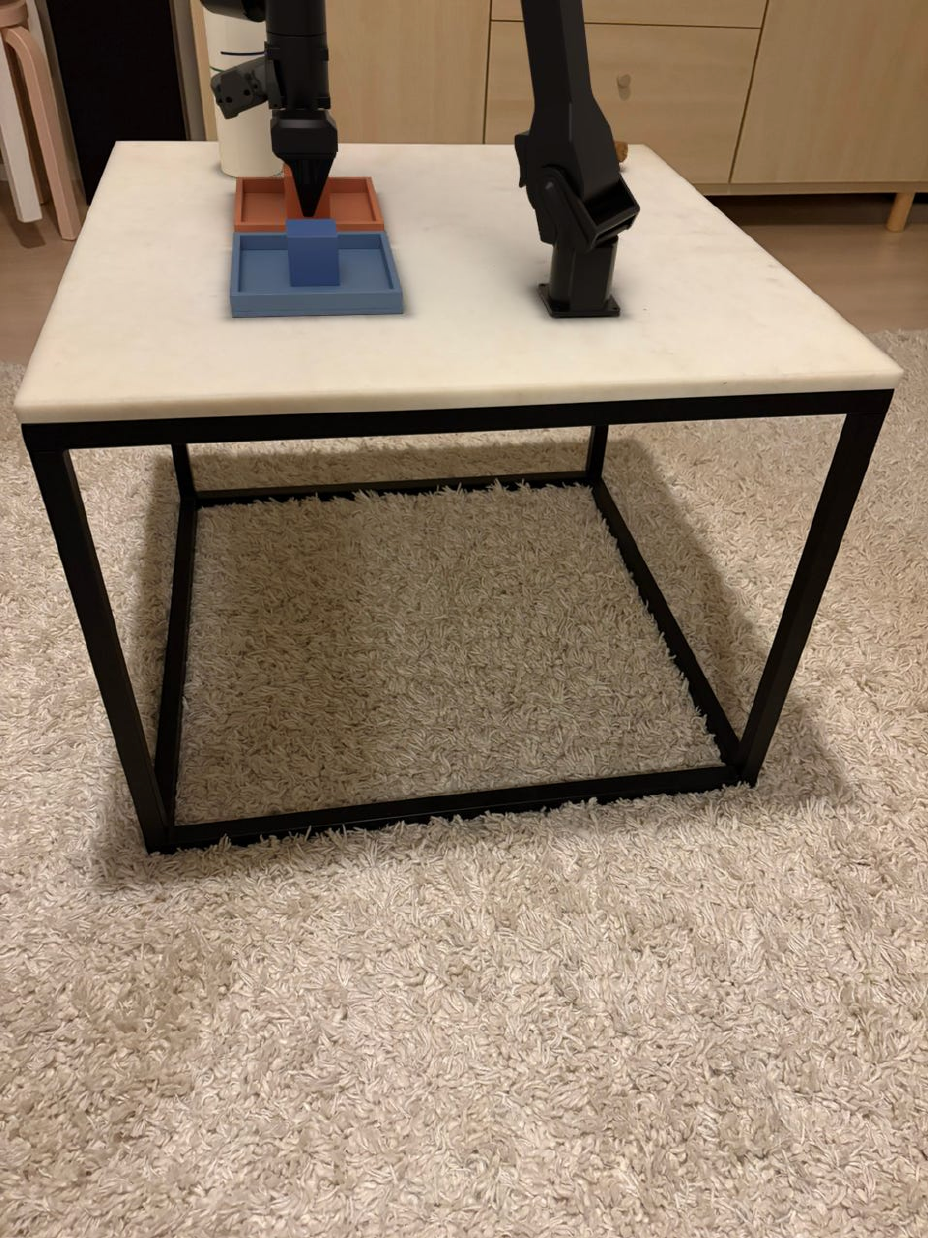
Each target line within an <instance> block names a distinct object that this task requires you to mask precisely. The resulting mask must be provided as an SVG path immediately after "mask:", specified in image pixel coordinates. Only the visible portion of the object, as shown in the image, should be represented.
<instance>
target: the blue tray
mask: <svg viewBox="0 0 928 1238" xmlns="http://www.w3.org/2000/svg"><path fill="white" fill-rule="evenodd" d="M337 235H338V252H339V277H340V285H339V286H290V274H289V261H288V248H287V234H286V232H241V233H235V232H233V233H232V246H231V247H232V248H231V264H230V265H231V266H230V280H229V281H230V283H229V302H230V310H231V317H232V318H254V317H255V318H258V317H259V318H260V317H264V318H265V317H301V316H302V317H303V316H304V317H305V316H346V315H348V316H349V315H350V316H351V315H353V316H354V315H391V314H392V315H393V314H395V315H396V314H403V310H404V309H403V307H404V305H403V303H404V301H403V296H404V294H403V293H404V292H403V289H402V285H401V282H400V278H399V274H398V269H397V267H396V266H397V265H396V263H395V259H394V256H393V252H392V248H391V245H390V241H389V237H388V233H387V231H386V230H384V231H348V232H337Z"/></svg>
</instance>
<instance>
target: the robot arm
mask: <svg viewBox="0 0 928 1238" xmlns="http://www.w3.org/2000/svg"><path fill="white" fill-rule="evenodd" d="M519 1H520V8H521V16H522V24H523V30H524V38H525V45H526V53H527V58H528V67H529V75H530V82H531V88H532V96H533V97H532V98H533V112H532V117H531V121H530V125H529V129H528V130H525V131H522V132H519V133H517V134H515V135H514V136H513V139H514V141H513V142H514V150H515V155H516V158H517V161H518V165H519V180H518V187H519V189H522V188H524V187H525V193H526V197H527V200H528V202H529V205H530V206H531V208H532V209H533V210H534V214H535V219H536V223H537V229H538V230H537V231H538V235H539V239H540V241H541V242H542V243H544V244H548V245H551V246H552V251H551V253H552V254H551V262H550V271H549V279H548V280H549V282H541V283H538V284H537V288H536V289H537V291H538V293H539V296H540V298H541V299H542V301H543V303H544V305H545V306H546V308H547V311H548V312H549V314H550V315H551V317H552V316H553V317H560V318H561V317H593V316H594V317H595V316H596V317H597V316H598V317H599V316H619V315H620V314H621V309H622V308H621V307H620V306H619V304H618V302H617V301H616V299H615V298H614V297H613V295H612V293H611V291H612V285H613V279H614V271H615V265H616V259H617V252H618V245H619V237H620V236H619V234H621V233H623V232H624V231H628V230H631V229H632V227H633V225H634V223H635V222H636V219H637V217H638V215H639V214H640V212H641V206H640V204H639V203H638V201H637V199H636V198H635V196H634V194H633V193H632V191H631V189H630V187H629V186H628V184H627V182H626V180H625V179H624V177H623V176H622V173H621V165H620V163H619V160H618V156H617V152H616V148H615V144H614V141H615V140H614V135H613V132H612V128H611V125H610V123H609V121H608V120H607V118H606V116H605V114H604V112H603V110H602V108H601V106H600V105H599V103H598V102H597V99H596V98H595V96H594V92H593V89H592V82H591V80H592V79H591V71H590V63H589V62H590V61H589V53H588V45H587V34H586V26H585V15H584V7H583V0H519ZM199 2H200V4H201V5H202V7H203V6H204V7H205V8H206V9H207V10H208V11H209V12H211V13H214V14H218V15H223V16H228V17H233V18H237V19H242V20H247V21H252V22H257V23H261V22H263V21H265V25H266V38H267V41H264V56H262V57H259V58H256V59H253V60H250V61H247V62H244V63H242V64H239V65H237V66H233V67H232V68H230V69H227V70H225V71H221V72H220V73H218V74H216V75H214V76H213V77H212V78H211V77H210V83H209V87H210V90H211V91H212V95H213V94H214V96H215V98H216V104H217V105H218V106H219V107H220V109H221V111H222V114H223V116H224V118H225V119H232V118H235V117H237V116H238V114H239V113H241V112H243V111H246V110H248V109H251V108H253V107H256V106H258V105H261V104H263V103H265V102H266V101H268V106H269V109H273V110H272V119H271V120H270V132H271V144H272V152H273V153H274V155H275V156H276V157H277V158H279V159H281V160H282V163H284V162H285V163H286V164H287V165H288V166H289V167H290V169H291V172H292V176H293V180H294V183H295V187H296V191H297V195H298V199H299V202H300V206H301V210H302V214H303V216H304V217H313V216H314V215H315V212H316V209H317V206H318V203H319V200H320V197H321V194H322V192H323V189H324V186H325V183H326V180H327V178H328V176H329V174H330V172H331V169H332V167H333V164H334V161H335V159H336V158H337V155H338V152H339V135H338V126H337V122H336V120H335V119H334V117H332V115H330V112H329V110H331V109H332V101H331V100H332V99H331V94H330V80H329V79H330V78H329V77H330V76H329V62H330V54H329V51H330V49H329V45H328V35H327V34H328V32H327V8H326V0H199Z"/></svg>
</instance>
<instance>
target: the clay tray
mask: <svg viewBox="0 0 928 1238" xmlns="http://www.w3.org/2000/svg"><path fill="white" fill-rule="evenodd" d="M235 179H236V181H235V194H234V195H235V196H234V212H233V213H234V214H233V231H234V232H233V233H241V232H286V219H287V209H286V196H285V182H284V176H270V177H235ZM329 196H330V217H331V219H335V223H336V229H337V232H348V231H385V223H384V222H385V221H384V219H383V215H382V211H381V208H380V205H379V200H378V197H377V194H376V189H375V186H374V182H373V179H372V176H329Z"/></svg>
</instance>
